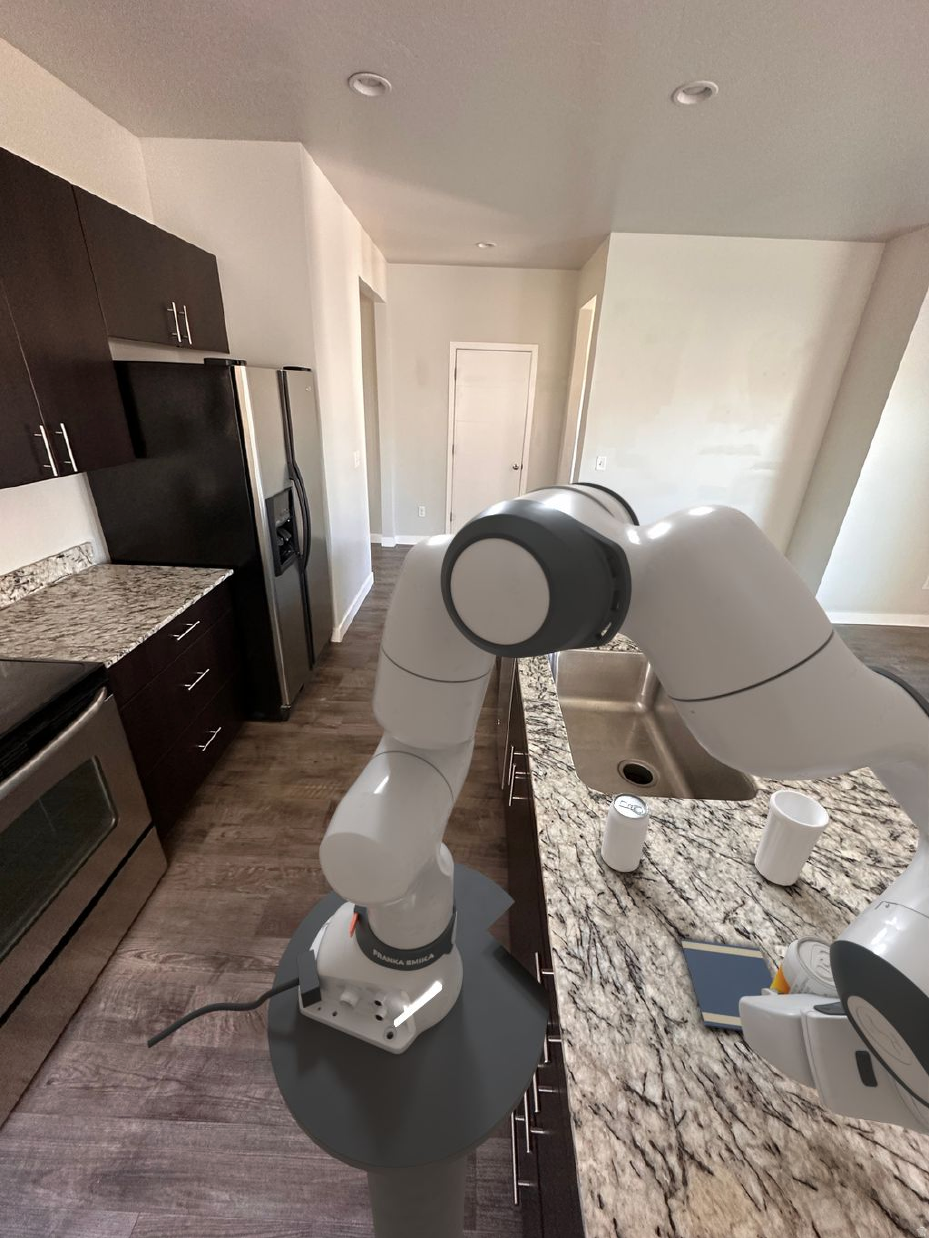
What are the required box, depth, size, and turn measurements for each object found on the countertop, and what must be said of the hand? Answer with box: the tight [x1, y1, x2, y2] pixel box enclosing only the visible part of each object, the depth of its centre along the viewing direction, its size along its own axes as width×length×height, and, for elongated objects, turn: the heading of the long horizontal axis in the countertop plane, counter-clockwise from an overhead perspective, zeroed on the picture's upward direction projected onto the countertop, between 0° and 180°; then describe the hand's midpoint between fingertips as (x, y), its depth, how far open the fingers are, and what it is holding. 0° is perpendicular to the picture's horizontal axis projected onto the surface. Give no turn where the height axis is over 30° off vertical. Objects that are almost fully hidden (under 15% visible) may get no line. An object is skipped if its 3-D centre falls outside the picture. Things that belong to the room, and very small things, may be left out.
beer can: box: [770, 935, 839, 997], centre depth 51 cm, size 6×6×15 cm
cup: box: [753, 789, 831, 886], centre depth 80 cm, size 8×8×14 cm
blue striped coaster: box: [680, 938, 774, 1033], centre depth 66 cm, size 11×11×1 cm
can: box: [600, 792, 651, 873], centre depth 82 cm, size 6×6×12 cm
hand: (801, 995), depth 52 cm, fingers closed on beer can, 6 cm apart
